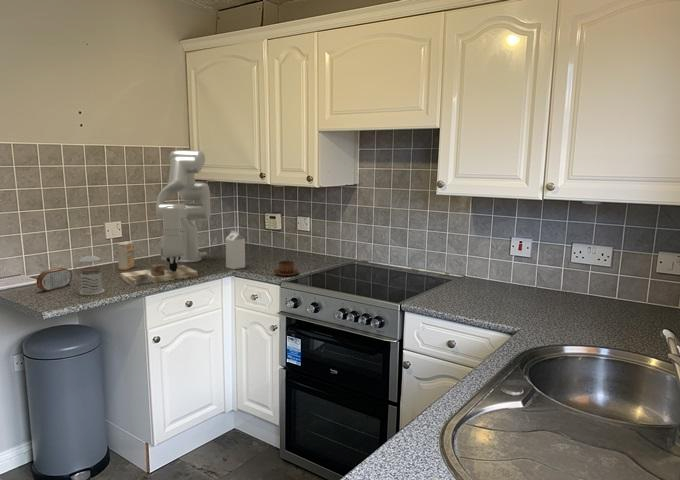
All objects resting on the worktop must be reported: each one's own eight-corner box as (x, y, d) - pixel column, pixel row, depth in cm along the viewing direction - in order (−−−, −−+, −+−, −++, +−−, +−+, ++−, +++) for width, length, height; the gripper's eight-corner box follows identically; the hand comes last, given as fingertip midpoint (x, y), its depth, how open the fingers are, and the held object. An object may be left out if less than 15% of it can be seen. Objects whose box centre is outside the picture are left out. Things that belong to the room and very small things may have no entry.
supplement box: (128, 270, 249) (126, 244, 247) (118, 270, 249) (116, 244, 247) (135, 266, 257) (133, 241, 255) (125, 266, 257) (124, 241, 255)
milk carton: (237, 265, 264) (237, 229, 261) (245, 267, 259) (244, 231, 256) (225, 267, 259) (225, 231, 256) (233, 269, 254) (232, 232, 251)
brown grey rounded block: (68, 284, 221) (67, 265, 220) (73, 285, 220) (72, 266, 218) (36, 292, 207) (35, 272, 206) (42, 293, 206) (40, 273, 205)
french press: (99, 294, 205) (95, 234, 201) (70, 295, 204) (65, 234, 200) (108, 288, 215) (105, 231, 210) (80, 288, 214) (76, 230, 210)
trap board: (183, 270, 251) (182, 265, 251) (197, 276, 238) (197, 271, 238) (120, 278, 232) (120, 273, 232) (132, 286, 219) (132, 280, 219)
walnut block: (160, 273, 233) (160, 263, 232) (164, 275, 230) (164, 265, 229) (151, 274, 230) (150, 264, 230) (154, 276, 227) (154, 266, 226)
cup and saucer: (302, 276, 244) (302, 263, 243) (279, 278, 238) (279, 265, 237) (292, 271, 254) (292, 259, 253) (270, 273, 248) (270, 261, 247)
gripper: (184, 230, 240) (185, 267, 243) (153, 232, 230) (154, 271, 233) (190, 232, 234) (192, 270, 237) (158, 235, 225) (160, 274, 228)
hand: (173, 270), depth 235 cm, fingers closed
